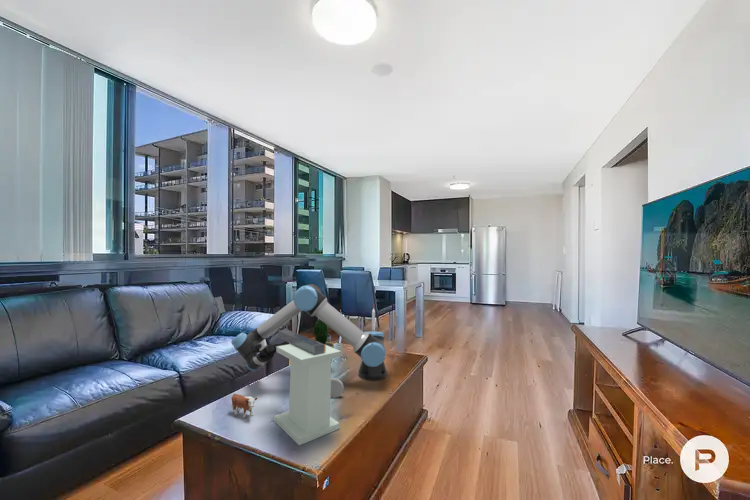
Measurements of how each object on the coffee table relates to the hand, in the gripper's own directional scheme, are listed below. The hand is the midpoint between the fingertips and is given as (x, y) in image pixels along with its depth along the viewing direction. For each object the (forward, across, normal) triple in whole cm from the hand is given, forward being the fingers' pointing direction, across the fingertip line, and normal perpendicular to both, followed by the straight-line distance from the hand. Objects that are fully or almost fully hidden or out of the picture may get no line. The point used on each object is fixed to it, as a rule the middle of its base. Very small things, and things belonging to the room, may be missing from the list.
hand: (280, 340), depth 131 cm
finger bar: (+14, 0, -7) cm, 16 cm away
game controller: (-9, -18, -26) cm, 33 cm away
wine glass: (-45, -44, -5) cm, 63 cm away
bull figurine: (-12, +15, -24) cm, 31 cm away
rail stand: (+6, 0, -34) cm, 35 cm away
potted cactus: (-31, -32, -13) cm, 46 cm away
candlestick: (-30, -69, -14) cm, 76 cm away
